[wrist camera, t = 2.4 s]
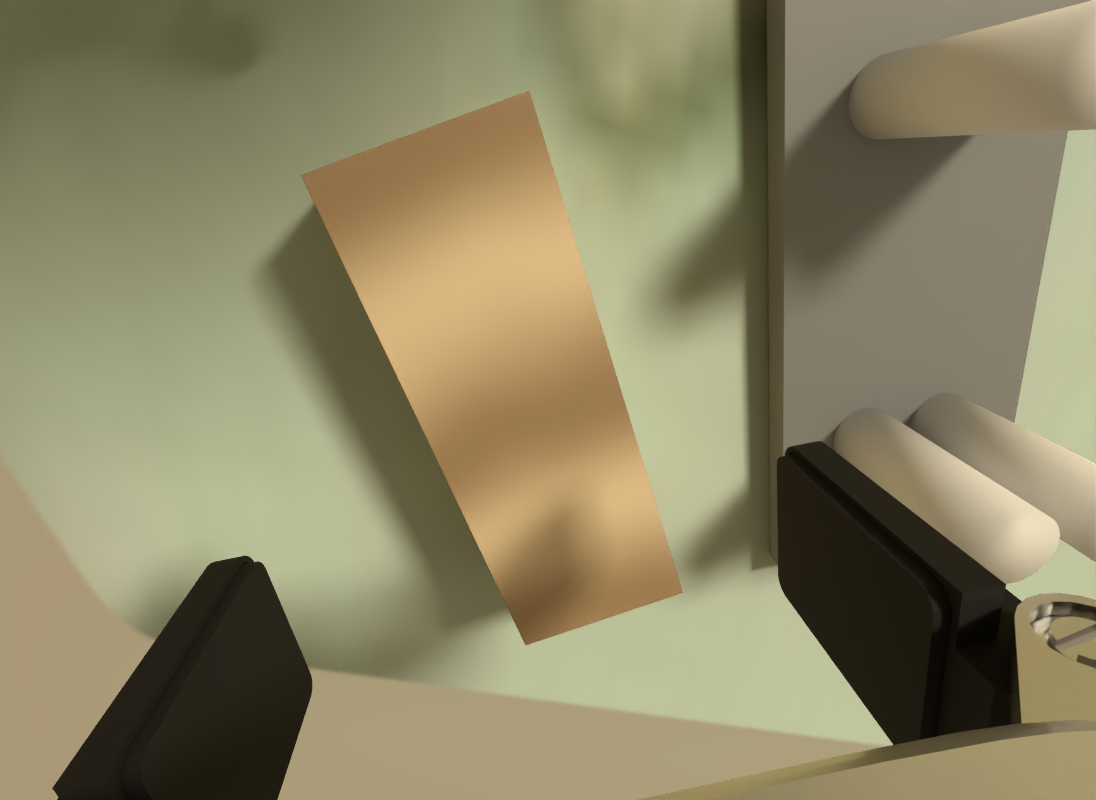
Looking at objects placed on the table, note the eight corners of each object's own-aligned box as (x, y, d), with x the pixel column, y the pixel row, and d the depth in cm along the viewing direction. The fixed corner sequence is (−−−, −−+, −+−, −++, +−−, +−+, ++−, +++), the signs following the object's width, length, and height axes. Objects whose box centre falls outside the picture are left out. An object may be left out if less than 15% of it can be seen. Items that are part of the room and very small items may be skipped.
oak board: (344, 171, 16) (300, 175, 12) (518, 106, 15) (528, 90, 12) (518, 560, 21) (525, 645, 17) (648, 516, 21) (682, 592, 17)
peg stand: (766, -112, 14) (1009, -347, 7) (1083, -164, 14) (1588, -435, 8) (770, 554, 22) (889, 719, 15) (973, 513, 22) (1175, 659, 16)
